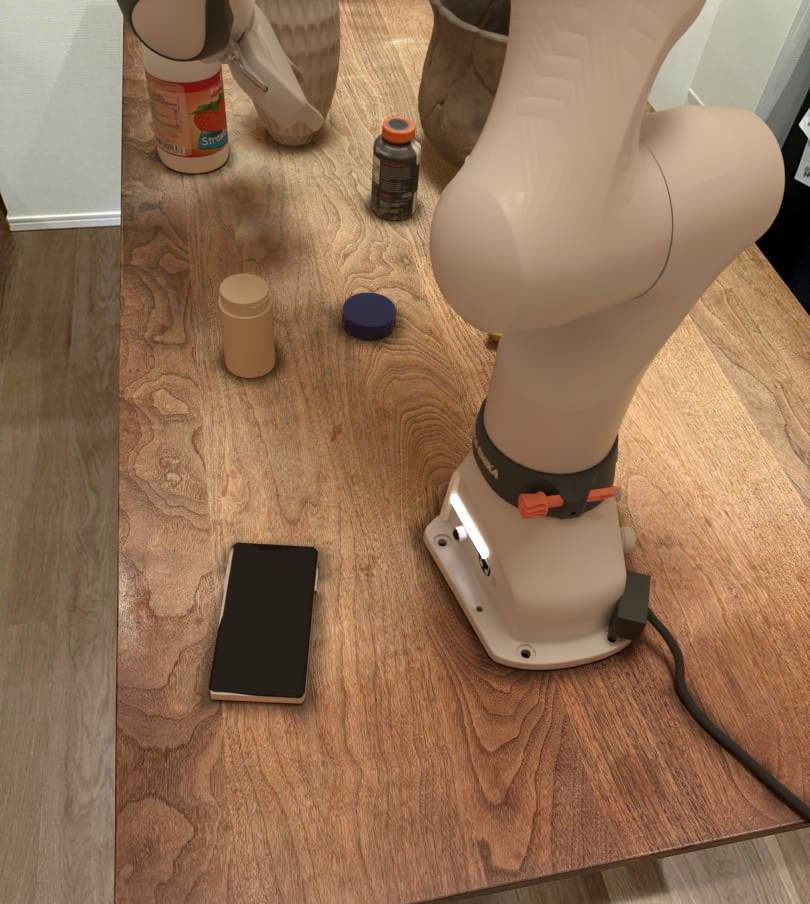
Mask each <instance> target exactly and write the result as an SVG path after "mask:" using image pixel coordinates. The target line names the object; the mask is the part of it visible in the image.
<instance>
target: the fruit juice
mask: <svg viewBox="0 0 810 904" xmlns="http://www.w3.org/2000/svg"><path fill="white" fill-rule="evenodd" d="M140 43H141V45H140V46H141V56H142V63H143V69H144V73H145V74H144V75H145V82H146V88H147V93H148V100H149V107H150V114H151V119H152V126H153V133H154V139H155V144H156V151H157V154H158V157H159V159H160V160H161V162H162V164H163V165H165V166H166V167H168V168H169V169H171V170H173V171H176V172H179V173H185V174H203V173H208V172H212V171H214V170H216V169H218V168H221V166H223V165H224V164H225V163H226V161H227V160H228V157H229V153H230V152H229V151H230V145H229V132H228V124H227V122H228V121H227V120H228V119H227V110H226V99H225V89H224V88H225V87H224V77H223V64H222V63H220V62H219V61H216V62H214V63H211V64H204V63H202V62H200V61H199V60H197V61H190V62H178V61H173V60H169V59H166V58H164V57H161V56H159V55H157V54H156V53H154V52H152V51H151V50H150V49H148V48H147V47H146V46H145V45H144V44H143V43H142V42H141V41H140Z"/></svg>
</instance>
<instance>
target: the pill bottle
mask: <svg viewBox="0 0 810 904" xmlns="http://www.w3.org/2000/svg"><path fill="white" fill-rule="evenodd" d="M381 128H382V129H381V134H379V135H378V136H377V137H376V138H375V139H374V141H373V146H372V147H373V148H372V170H371V187H370V190H371V191H370V208H371V210H372V211H373V213H374V214H376V215H377V216H379V217H381V218H383V219H386V220H392V221H399V220H404V219H407V218H410V217H411V216H413V215H414V213H415V212H416V209H417V201H418V200H417V199H418V190H419V180H420V179H419V178H420V169H421V156H422V144H421V143H420V141H419V140H418V138H416V123H415V122H414V121H413V120H412V119H410V118H408V117H405V116H399V115H397V116H395V115H394V116H389V117H386V118H385V119H384V120H383V122H382V127H381Z"/></svg>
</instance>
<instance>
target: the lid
mask: <svg viewBox="0 0 810 904" xmlns="http://www.w3.org/2000/svg"><path fill="white" fill-rule="evenodd" d="M396 320H397V307H396V305H395V303H394V302H393V300H391V299H390V298H388V297H387V296H386V295H383V294H380V293H375V292H370V291H369V292H368V291H367V292H358V293H356V294H353V295H351V296H349V297H348V298H347V299H346V300H345V301H344V302H343V306H342V314H341V324H342V325H343V327H344V330H345V331H346V332H348V334H350V335H351V336H353V337H356V338H358V339H361V340H367V341H374V340H381V339H383V338H386V337H387V336H389V335H391V334H392V332H393V331H394V329H395V328H396V322H397V321H396Z"/></svg>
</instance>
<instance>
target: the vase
mask: <svg viewBox="0 0 810 904" xmlns="http://www.w3.org/2000/svg"><path fill="white" fill-rule="evenodd" d="M255 3H256V5H257V6H258V7H259V8H260V9H261V11H262V12H263V13H264V15H265V16H266V18H267V19H268V21H269V22H270V24H271V27H272V29H273V31H274V33H275V35H276V37H277V39H278V41H279V43H280V45H281V47H282V50H283V51H284V53H285V54H286V55H287V57H288V58H289V59H290V61H291V62H292V63H293V64H294V65H295V66H296V67H297V68H298V69H299V70H300V71H301V73H302V75H303V78H304V80H303V82H302V83H301V84H300V87H301V89H302V91H303V93H304V95H305V97H306V99H307V102H308V103H309V104H310V105H311V104H312V105H313V106H314V107H316V109H317V110H319V111H320V112H321V114H322V116H323V118H324V122H325V121H326V118H327V116H328V114H329V111H330V108H331V106H332V103H333V99H334V96H335V92H336V89H337V82H338V75H339V70H340V69H339V68H340V57H341V15H340V13H341V12H340V5H339V0H255ZM251 101H252V104H253V106H254V109H255V110H256V112H257V115H258V117H259V119H260V121H261V122H262V125H264V127H265V129H266V131H267V132H268V134H269V135H270V136H271V138H272V140H274V141H276V142H277V143H279V144H281V145H285V146H290V147H297V146H298V147H299V146H304V145H307V144H309V143H311V142H312V141H313V140H314V139H315V138H316V136H317V134H318V133H319V131H320V130H321V128H322V126H321V127H320V128H319V129H318V130H317V131H312V130H311V129H310V128H309V127H308V126H307V125H306V124H304V123H302V122H300V121H296V122H295V123H294V124H293V125H292V126H291V127H290V128H284V127H282V126H280V125H279V124H278V123H277V122H275V121H274V120H273V119H272V118H271V117H270V116H269V115H268V114H267V113H266V112H265V111H264V110H263V109H261V108H260V107H259V106H258V105H257V104H256V103H255V102H254V101H253V100H252V99H251Z"/></svg>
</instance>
